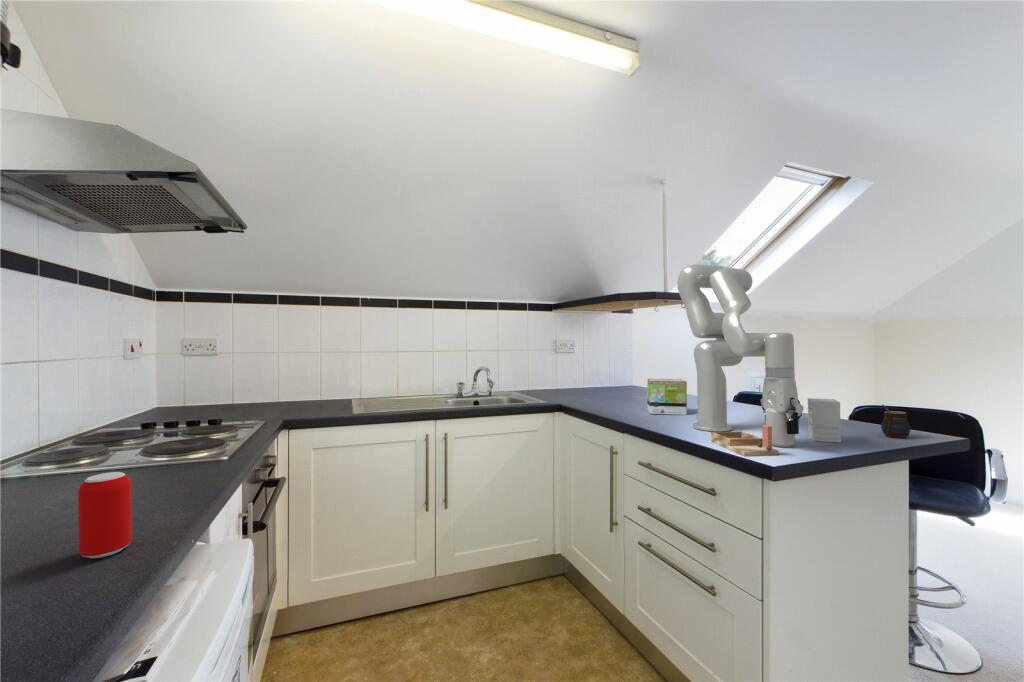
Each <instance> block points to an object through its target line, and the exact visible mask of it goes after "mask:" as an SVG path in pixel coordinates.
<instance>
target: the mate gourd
mask: <svg viewBox="0 0 1024 682" xmlns="http://www.w3.org/2000/svg"><path fill="white" fill-rule="evenodd" d="M882 407H883V408H884V409H885V411H884V412H883V415H884V416H883V420H882V422H881V424H880V428H881V431H882V433H883V434H884V435H885V436H886V437H889V438H892V439H906V438H907V437H909V436H910V433H911V429H912V428H911V425H910V423H909V421H908V419H907V417H908V415H907V414H908V413H907V412H905V411H897V410H896V411H894V410H889V409H888V408H887V406H885V405H884V404H882Z"/></svg>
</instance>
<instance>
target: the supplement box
mask: <svg viewBox="0 0 1024 682" xmlns="http://www.w3.org/2000/svg"><path fill="white" fill-rule="evenodd" d="M807 424H808V425H807V430H808V431H807V434H808V435H807V436H808V437H809V439H811V440H812V442H825V443H826V442H827V443H840V444H841V442H842V437H841V436H842V435H841V431H842V430H841V402H840V401H839V400H837V399H834V398H814V397H813V398H811V397H807Z"/></svg>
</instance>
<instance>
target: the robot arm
mask: <svg viewBox="0 0 1024 682" xmlns="http://www.w3.org/2000/svg"><path fill="white" fill-rule="evenodd" d="M752 285H753V277H752V274H751V273H750V272H749V271H747V270H746V269H743V268H735V267H728V266H724V265H715V264H714V265H712V264H711V265H709V264H690V265H687V266H685V267H683V268H682V269H681V271H679V274H678V277H677V285H676V286H677V291H678V294H679V296H680V299H681V301H682V303H683V306H684V308H685V312H686V317H687V320H688V324H689V327H690V330H691V333H692V335H693V336H694V337H695V338H698V339H711V340H703V341H701V342H699V343H698V344H696V345H695V347H694V348H693V349H694V350H693V357H694V361H695V362H694V363H695V369H696V378H697V379H696V384H697V389H696V390H697V391H696V393H697V414H696V415H695V418H696V419H697V422H693V424H692V425H693V426H692V427H693V428H694V429H696V430H700V431H707V432H731V431H732V430H733V427H732V425H730V424H728V417H727V415H728V414H727V413H728V412H727V411H728V409H727V407H728V406H727V404H728V402H727V401H728V398H727V395H728V393H727V376H726V374H725V371H724V370H723V367H733V366H737V365H739V364H740V363H741V362H742V361H743V358H749V357H750V358H753V357H754V358H755V357H757V358H758V357H760V358H761V357H762V358H763V357H764V366H765V368H764V369H765V377H764V379H763V384H762V397H761V399H760V400H759V401H760V404H761V408H762V410H763V415H764V425H766V409H767V408H769V406H773V407H774V408H773V409H774V410H775V411H777V412H779V413H784V412H785V414H786V416H787V418H788V420H787V434H795V435H799V433H800V432H799V431H800V430H799V429H800V427H799V426H800V425H799V424H800V423H799V421H800V420H801V417H802V415H803V412H804V409H805V407H804V406H803V404H801V403H800V402H799V396H798V388H797V387H798V386H797V383H796V378H795V377H796V376H795V375H796V374H795V372H796V371H795V340H794V336H793V335H794V334H792V333H790V332H771V333H769V332H746V331H745V329H744V327H743V325H742V323H741V320H740V316H741V315H744V314H745V313H746V312H747V311H749V309H750V308H751V306H752V301H751V300H750V299H751V298H749V296H748V294H747V292H748V291H749V290H751V289H752ZM701 288H702V289H711V290H712V291H713V293H714V295H715V297H716V299H717V301H718V303H719V304H720V307H721V308H722V310H723V312H724V313H723V312H714V311H713V309H712V307H711V303H710V300H709V299H708V297H707V296H706V294H705V293H704V292H703V291H702V290H701ZM712 339H713V340H712ZM790 413H793V414H792V416H791V414H790Z"/></svg>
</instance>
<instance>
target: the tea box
mask: <svg viewBox="0 0 1024 682" xmlns="http://www.w3.org/2000/svg"><path fill="white" fill-rule="evenodd" d="M646 387H647V388H646V390H647V392H646V393H647V394H646V395H647V396H646V399H647V400H646V401H647V403H646V405H647V406H646V407H647V410H646V411H647V412H648V413H649V414H650V415H673V416H675V415H676V416H677V415H679V416H687V412H688V411H687V409H688V406H687V405H688V399H687V398H688V397H687V396H688V394H687V391H688V383H687V380H684V379H682V378H679V379H678V378H647V386H646Z"/></svg>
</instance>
